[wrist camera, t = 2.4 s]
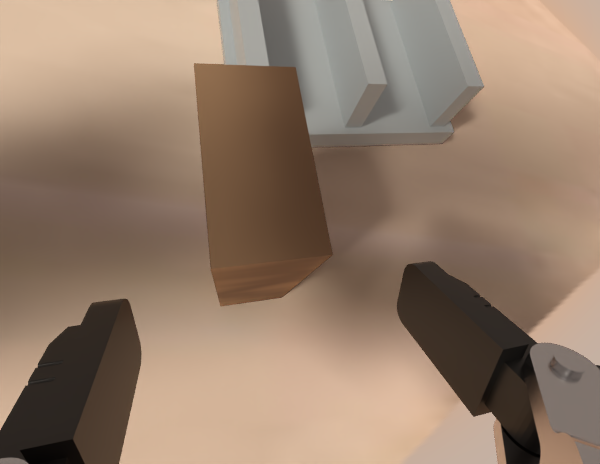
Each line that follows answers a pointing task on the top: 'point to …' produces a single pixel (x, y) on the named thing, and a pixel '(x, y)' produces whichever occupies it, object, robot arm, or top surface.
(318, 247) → the brown rectangular block
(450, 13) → the rack
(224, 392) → the top surface
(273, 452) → the top surface
